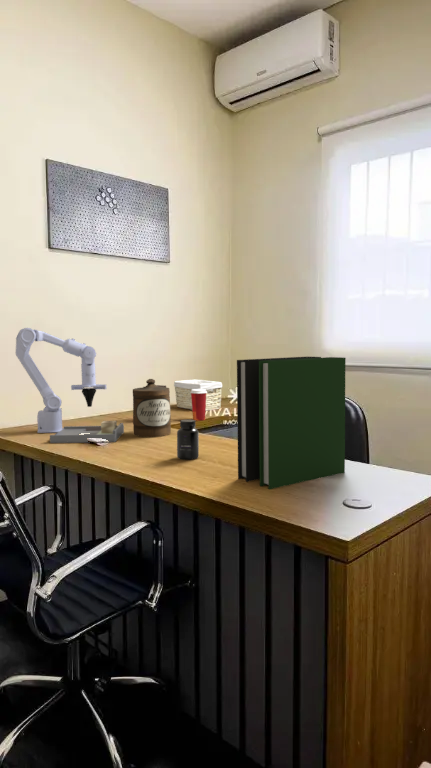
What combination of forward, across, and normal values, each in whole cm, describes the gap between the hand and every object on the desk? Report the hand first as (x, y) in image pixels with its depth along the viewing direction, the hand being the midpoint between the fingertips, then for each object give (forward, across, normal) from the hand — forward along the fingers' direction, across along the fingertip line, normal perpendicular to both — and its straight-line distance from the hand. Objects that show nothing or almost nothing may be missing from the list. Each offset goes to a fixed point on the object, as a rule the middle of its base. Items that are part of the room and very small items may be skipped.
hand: (89, 406), depth 226 cm
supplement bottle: (+10, +44, -59) cm, 74 cm away
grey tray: (+9, +4, -21) cm, 23 cm away
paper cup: (+10, +46, +19) cm, 51 cm away
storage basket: (+10, +45, +59) cm, 75 cm away
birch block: (+7, +12, -21) cm, 25 cm away
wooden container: (+10, +28, -15) cm, 33 cm away
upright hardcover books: (+10, +73, -82) cm, 110 cm away
